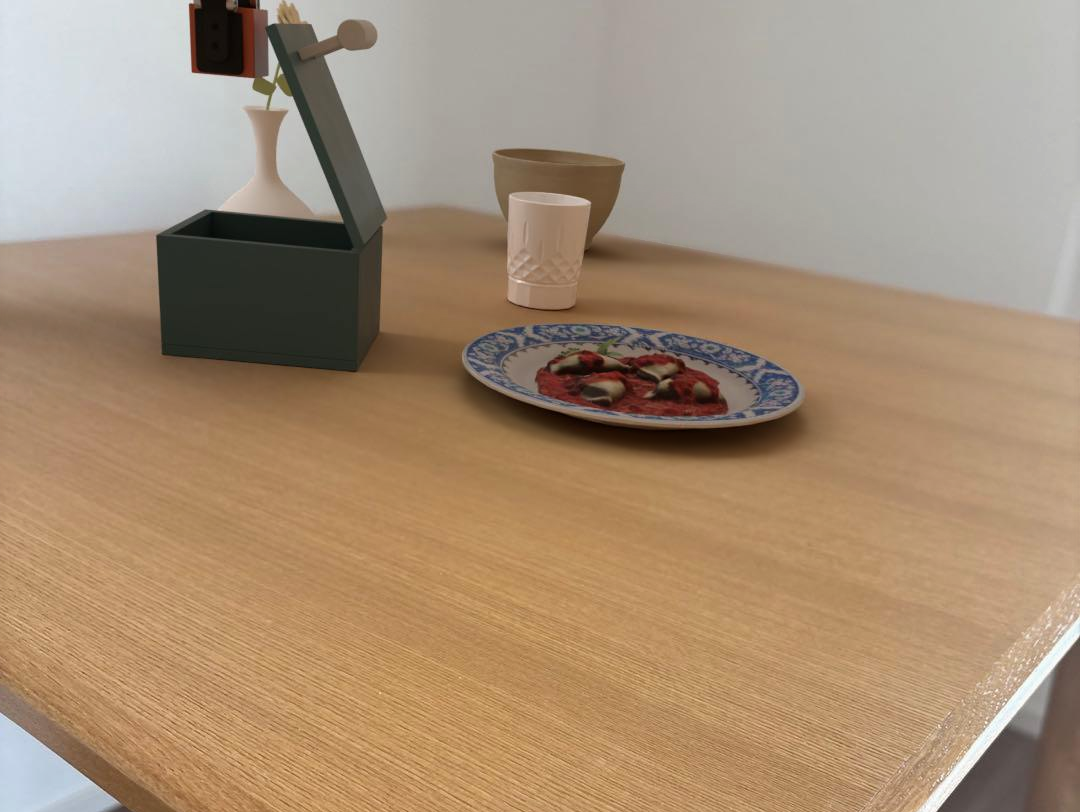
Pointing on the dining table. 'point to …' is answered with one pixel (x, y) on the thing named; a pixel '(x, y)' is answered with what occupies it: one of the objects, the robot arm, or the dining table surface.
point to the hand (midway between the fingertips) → (230, 69)
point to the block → (252, 43)
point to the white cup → (545, 248)
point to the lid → (331, 117)
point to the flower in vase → (269, 150)
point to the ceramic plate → (633, 376)
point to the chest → (268, 290)
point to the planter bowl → (560, 179)
